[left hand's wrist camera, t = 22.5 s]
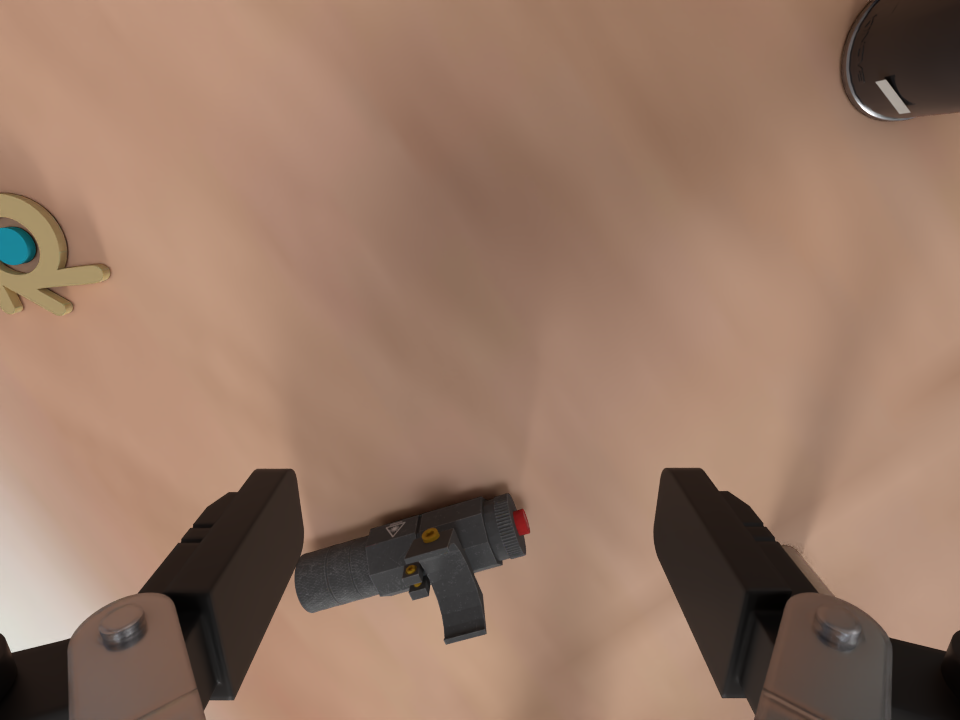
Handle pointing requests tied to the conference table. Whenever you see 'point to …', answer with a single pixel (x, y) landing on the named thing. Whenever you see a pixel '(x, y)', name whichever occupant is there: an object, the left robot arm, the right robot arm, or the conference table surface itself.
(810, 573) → the tin
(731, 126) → the conference table surface
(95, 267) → the logo
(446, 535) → the laser sight
